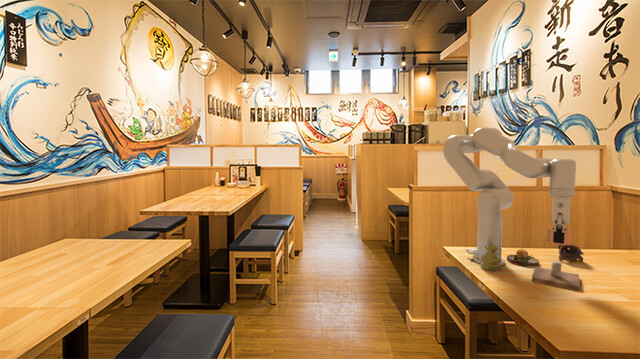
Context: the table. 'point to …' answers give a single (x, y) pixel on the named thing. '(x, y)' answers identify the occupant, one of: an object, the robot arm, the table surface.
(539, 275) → the post stand
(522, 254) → the burger
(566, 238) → the ring
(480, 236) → the robot arm
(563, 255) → the pottery mug
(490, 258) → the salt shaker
